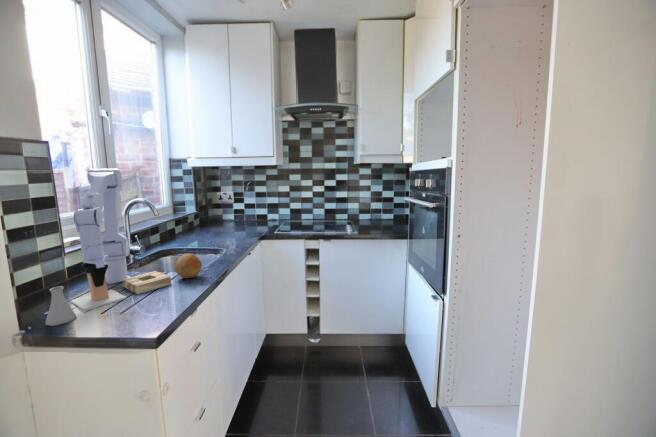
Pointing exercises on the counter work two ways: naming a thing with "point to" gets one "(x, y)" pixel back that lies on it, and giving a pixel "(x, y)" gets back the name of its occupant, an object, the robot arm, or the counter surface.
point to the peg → (97, 289)
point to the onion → (188, 266)
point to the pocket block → (146, 282)
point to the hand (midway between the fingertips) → (97, 284)
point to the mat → (88, 303)
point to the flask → (59, 308)
